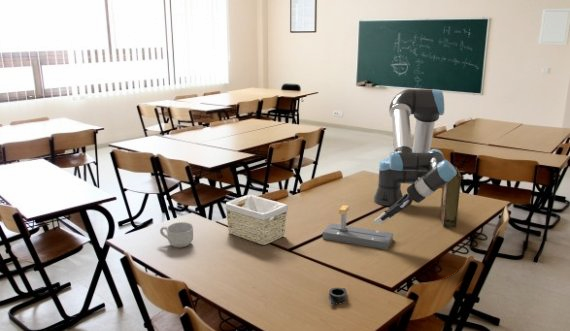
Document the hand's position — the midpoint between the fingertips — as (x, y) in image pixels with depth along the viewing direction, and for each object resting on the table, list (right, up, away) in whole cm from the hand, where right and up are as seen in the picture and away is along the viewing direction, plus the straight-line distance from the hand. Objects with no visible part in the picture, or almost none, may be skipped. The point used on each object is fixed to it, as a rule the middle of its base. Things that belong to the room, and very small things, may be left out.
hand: (376, 222), depth 200 cm
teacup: (-83, -9, 0) cm, 84 cm away
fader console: (-7, -8, +5) cm, 12 cm away
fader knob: (-13, -4, +7) cm, 15 cm away
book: (+38, -3, +25) cm, 46 cm away
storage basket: (-51, -7, +10) cm, 52 cm away
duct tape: (-21, -21, -42) cm, 52 cm away
